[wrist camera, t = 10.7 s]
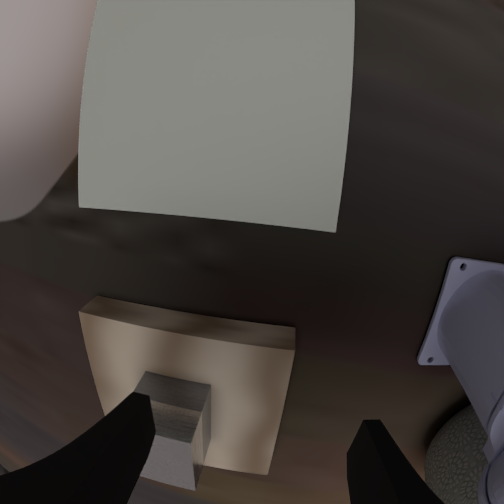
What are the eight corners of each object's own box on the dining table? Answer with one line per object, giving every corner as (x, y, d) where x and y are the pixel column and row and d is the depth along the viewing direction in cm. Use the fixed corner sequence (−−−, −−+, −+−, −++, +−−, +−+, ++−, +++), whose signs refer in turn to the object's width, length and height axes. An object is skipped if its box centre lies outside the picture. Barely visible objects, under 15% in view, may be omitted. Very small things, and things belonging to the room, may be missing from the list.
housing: (211, 384, 19) (190, 443, 14) (210, 438, 21) (195, 490, 16) (145, 370, 19) (114, 422, 15) (154, 425, 21) (132, 473, 17)
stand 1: (347, -11, 13) (354, -30, 10) (329, 220, 17) (335, 232, 15) (121, -5, 14) (102, -18, 12) (101, 199, 19) (79, 207, 16)
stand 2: (295, 327, 20) (295, 350, 17) (269, 453, 24) (267, 474, 22) (97, 295, 21) (78, 311, 19) (123, 422, 26) (113, 440, 23)
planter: (522, 351, 18) (582, 434, 8) (517, 423, 21) (552, 491, 11) (400, 420, 22) (426, 529, 11) (422, 474, 24) (439, 553, 14)
